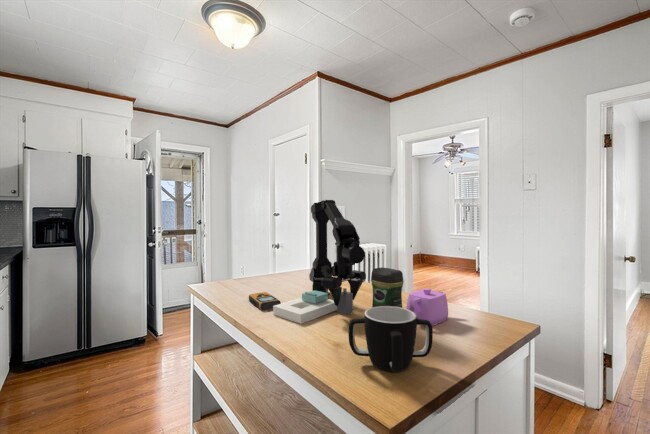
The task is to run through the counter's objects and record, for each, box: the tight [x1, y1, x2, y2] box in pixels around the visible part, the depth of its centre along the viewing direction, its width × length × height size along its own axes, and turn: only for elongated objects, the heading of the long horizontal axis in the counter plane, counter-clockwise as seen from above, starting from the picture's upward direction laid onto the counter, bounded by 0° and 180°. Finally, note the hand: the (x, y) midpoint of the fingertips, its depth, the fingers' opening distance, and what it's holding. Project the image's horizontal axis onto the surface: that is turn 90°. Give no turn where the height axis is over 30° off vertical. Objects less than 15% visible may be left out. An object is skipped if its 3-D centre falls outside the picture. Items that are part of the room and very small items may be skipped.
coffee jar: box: [370, 267, 404, 308], centre depth 97 cm, size 10×8×19 cm
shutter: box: [301, 290, 329, 304], centre depth 116 cm, size 7×7×3 cm
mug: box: [348, 306, 434, 373], centre depth 74 cm, size 16×16×12 cm
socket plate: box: [272, 297, 337, 325], centre depth 113 cm, size 19×14×3 cm
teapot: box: [405, 287, 449, 327], centre depth 105 cm, size 18×10×10 cm, turn 129°
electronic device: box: [248, 291, 282, 311], centre depth 123 cm, size 8×16×3 cm, turn 31°
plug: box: [336, 287, 354, 316], centre depth 112 cm, size 4×4×9 cm
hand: (344, 302), depth 112 cm, fingers open, 9 cm apart
